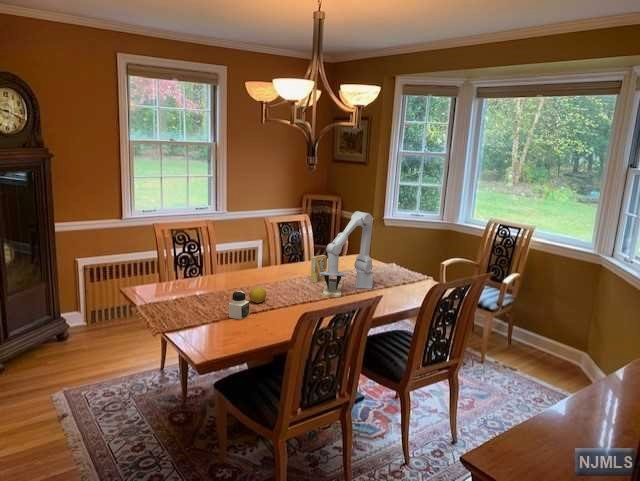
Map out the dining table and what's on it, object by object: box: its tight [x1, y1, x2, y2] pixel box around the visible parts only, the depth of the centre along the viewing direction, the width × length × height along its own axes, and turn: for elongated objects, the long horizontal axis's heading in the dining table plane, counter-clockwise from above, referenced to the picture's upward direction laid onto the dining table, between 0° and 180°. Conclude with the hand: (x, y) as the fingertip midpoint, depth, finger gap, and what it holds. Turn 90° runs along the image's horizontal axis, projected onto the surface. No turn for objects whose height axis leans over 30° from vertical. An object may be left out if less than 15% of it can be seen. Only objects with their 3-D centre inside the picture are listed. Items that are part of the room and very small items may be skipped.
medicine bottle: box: [228, 290, 250, 321], centre depth 231 cm, size 7×7×12 cm
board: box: [322, 283, 343, 298], centre depth 272 cm, size 10×19×1 cm, turn 176°
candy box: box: [310, 254, 328, 284], centre depth 289 cm, size 9×4×15 cm, turn 129°
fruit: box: [248, 286, 267, 304], centre depth 251 cm, size 9×8×8 cm
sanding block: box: [328, 278, 337, 293], centre depth 268 cm, size 4×7×6 cm, turn 176°
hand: (332, 288), depth 268 cm, fingers closed on sanding block, 4 cm apart
